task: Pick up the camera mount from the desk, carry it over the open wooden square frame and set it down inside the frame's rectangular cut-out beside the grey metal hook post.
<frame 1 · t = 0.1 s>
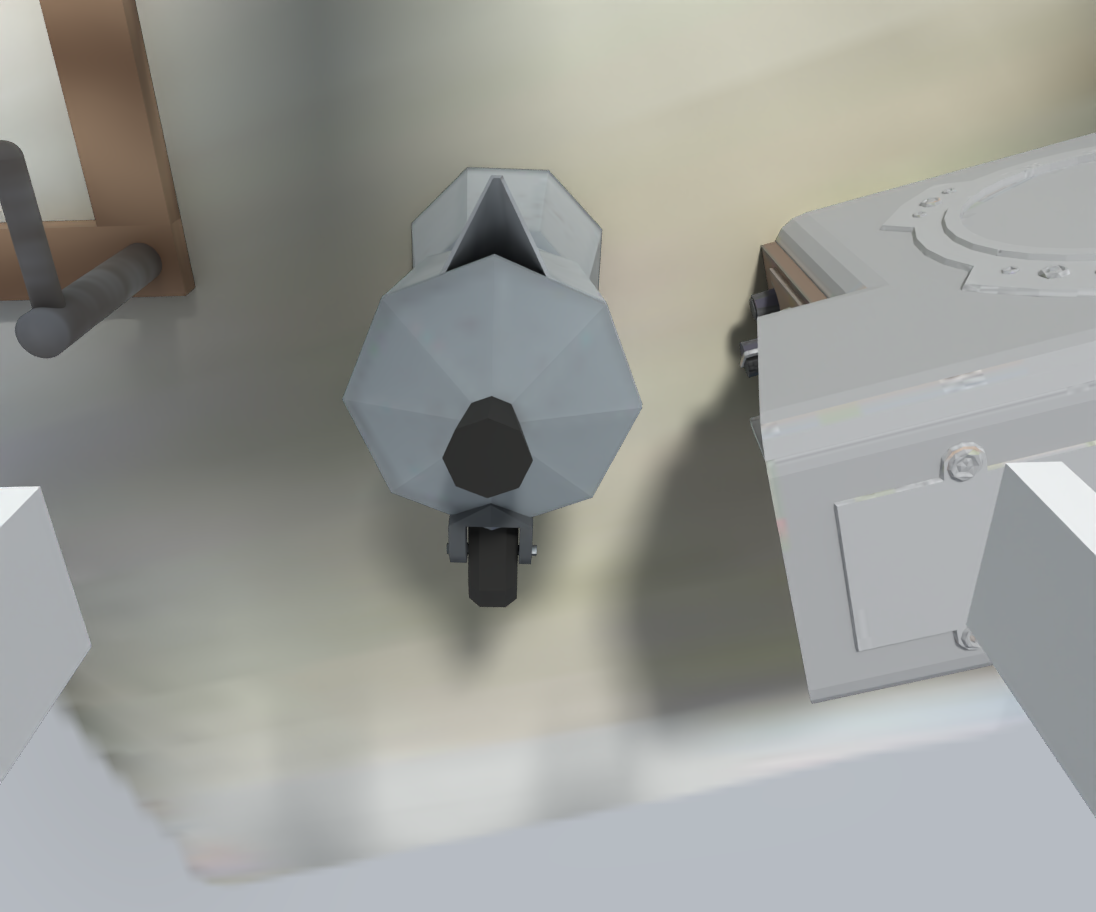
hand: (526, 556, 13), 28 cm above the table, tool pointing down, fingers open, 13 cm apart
portable television: (954, 297, 40), on the table
coffee maker: (505, 288, 40), on the table
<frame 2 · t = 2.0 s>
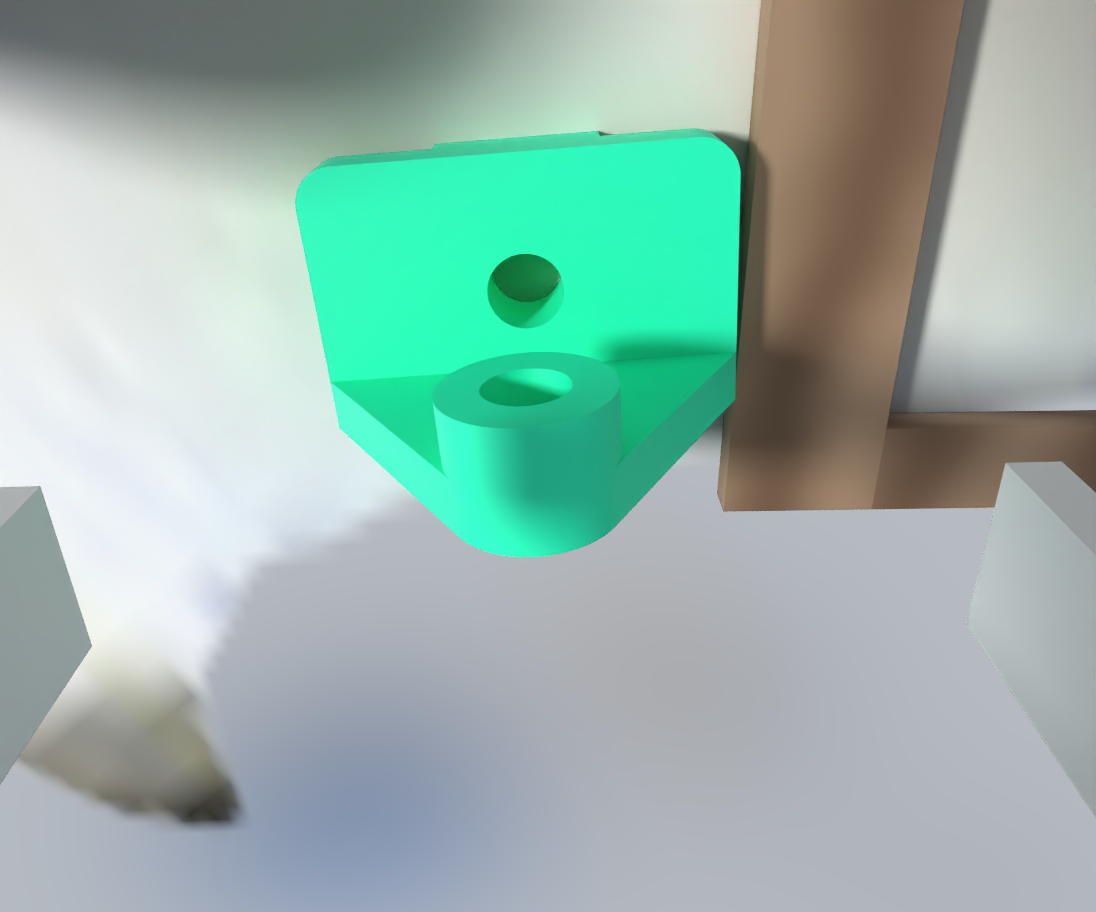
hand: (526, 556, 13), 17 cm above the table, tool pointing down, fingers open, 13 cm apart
camera mount: (526, 264, 28), on the table
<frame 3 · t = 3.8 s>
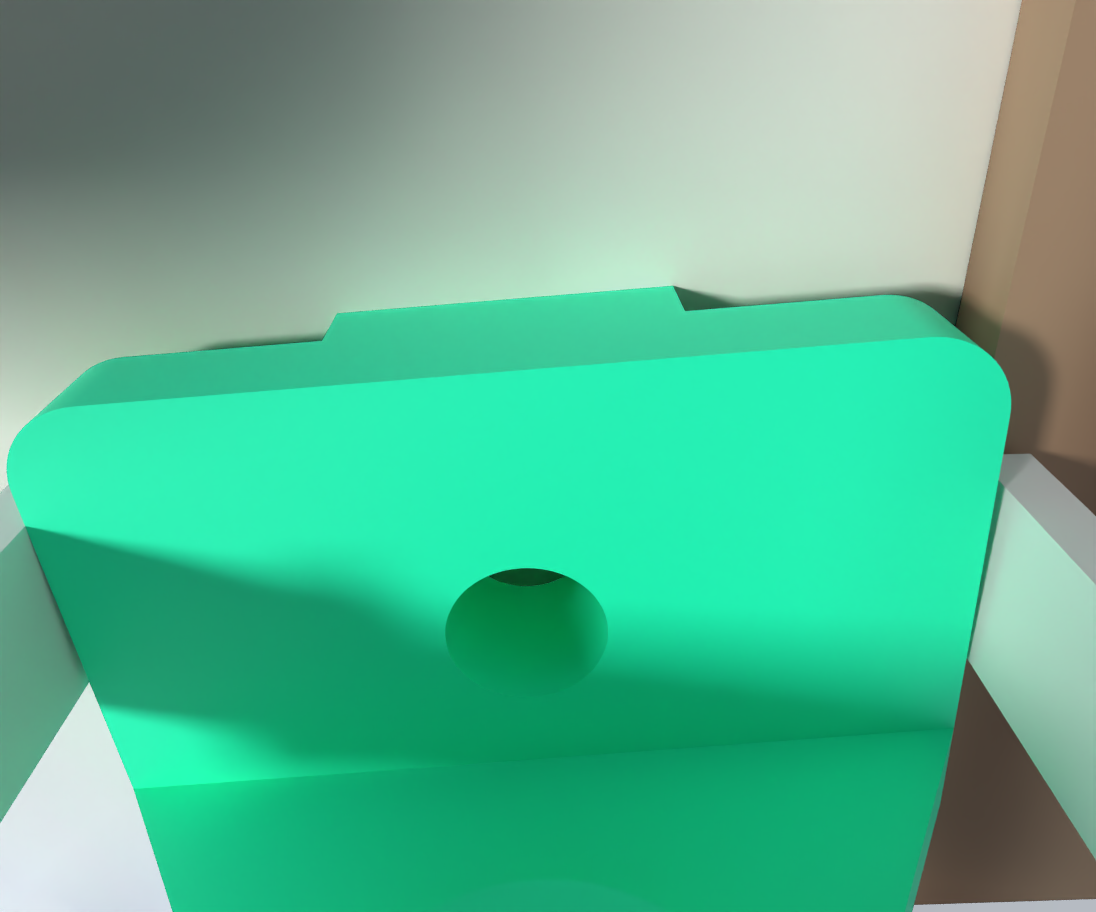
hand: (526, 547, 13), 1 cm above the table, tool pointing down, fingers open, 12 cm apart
camera mount: (526, 522, 15), on the table, touching gripper, open wooden square frame
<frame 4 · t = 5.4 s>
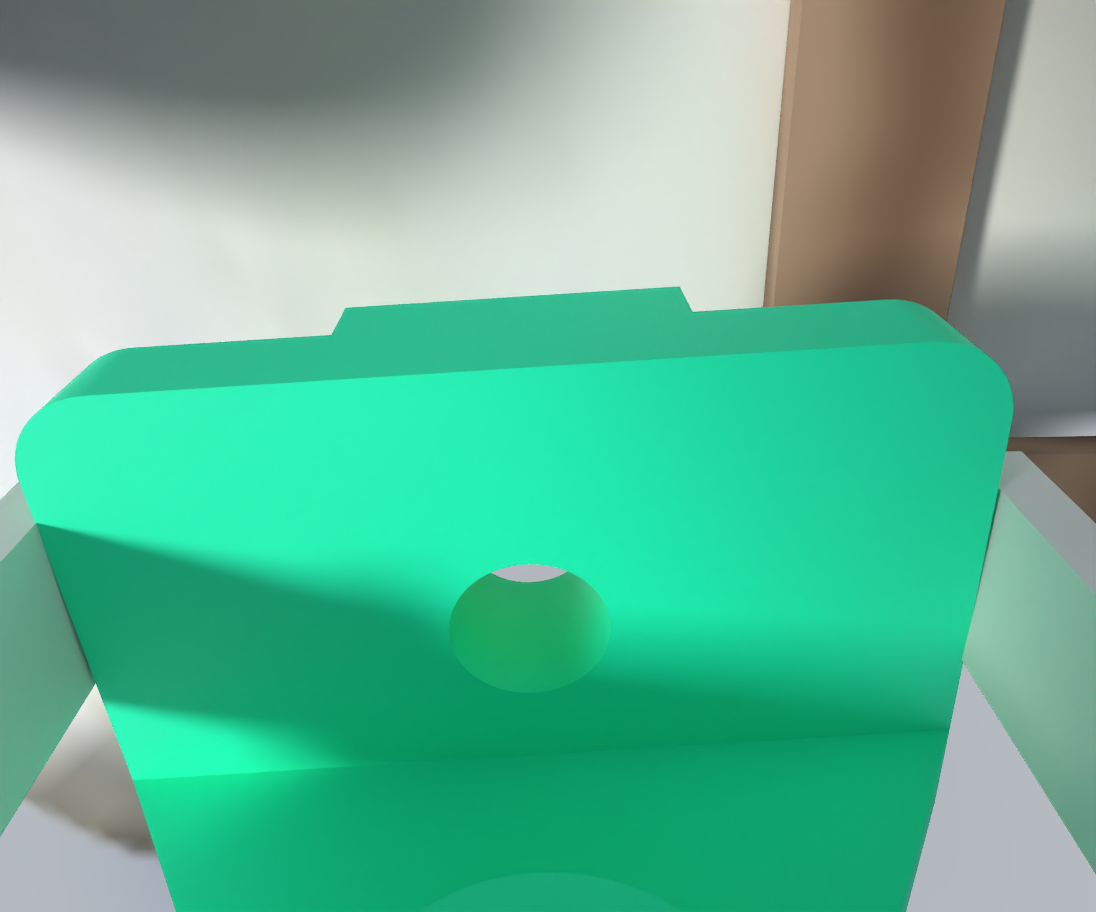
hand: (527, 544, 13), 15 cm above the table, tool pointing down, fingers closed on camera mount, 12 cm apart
camera mount: (528, 520, 15), point 13 cm above the table, touching gripper
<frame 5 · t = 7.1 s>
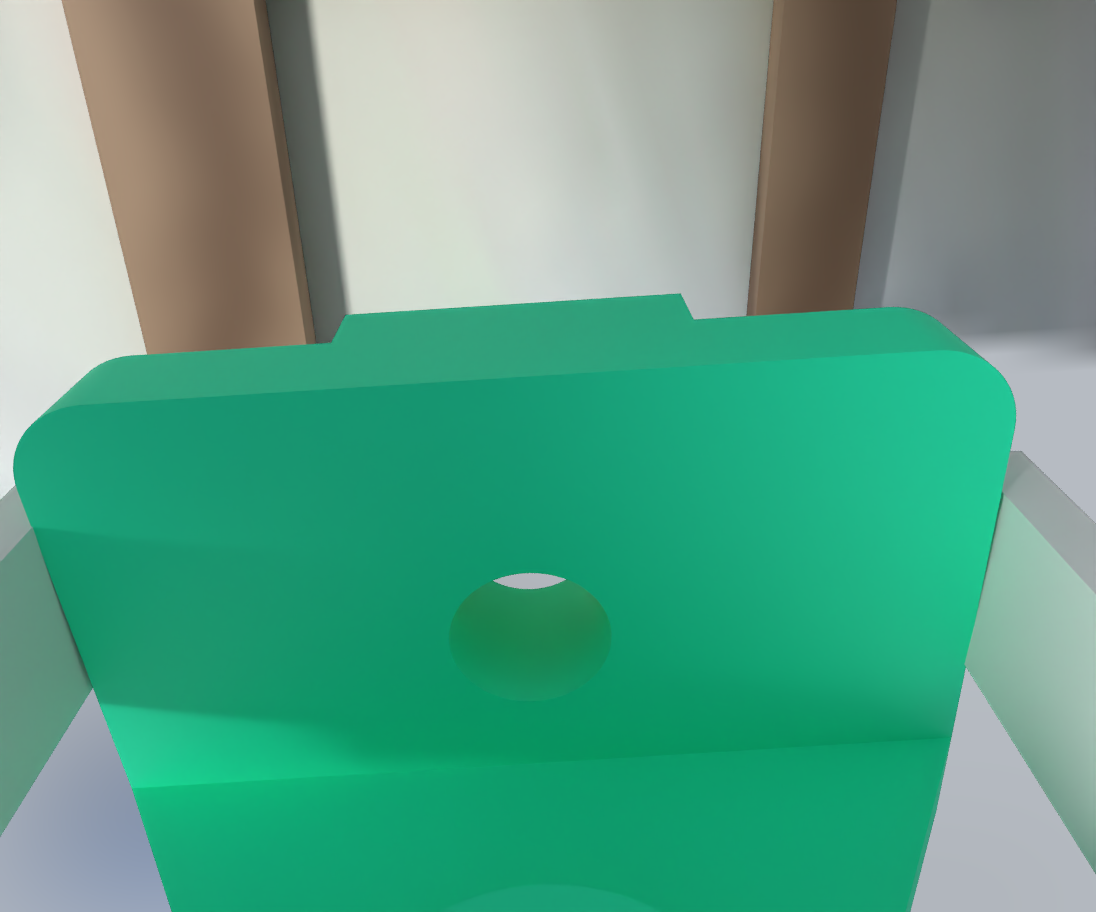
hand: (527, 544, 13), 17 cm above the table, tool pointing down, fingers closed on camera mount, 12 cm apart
open wooden square frame: (495, 239, 28), on the table
camera mount: (528, 526, 15), point 16 cm above the table, touching gripper
when the fingers open (4 cm above the table, at t = 9.6 s): camera mount drops 3 cm, resting in open wooden square frame.
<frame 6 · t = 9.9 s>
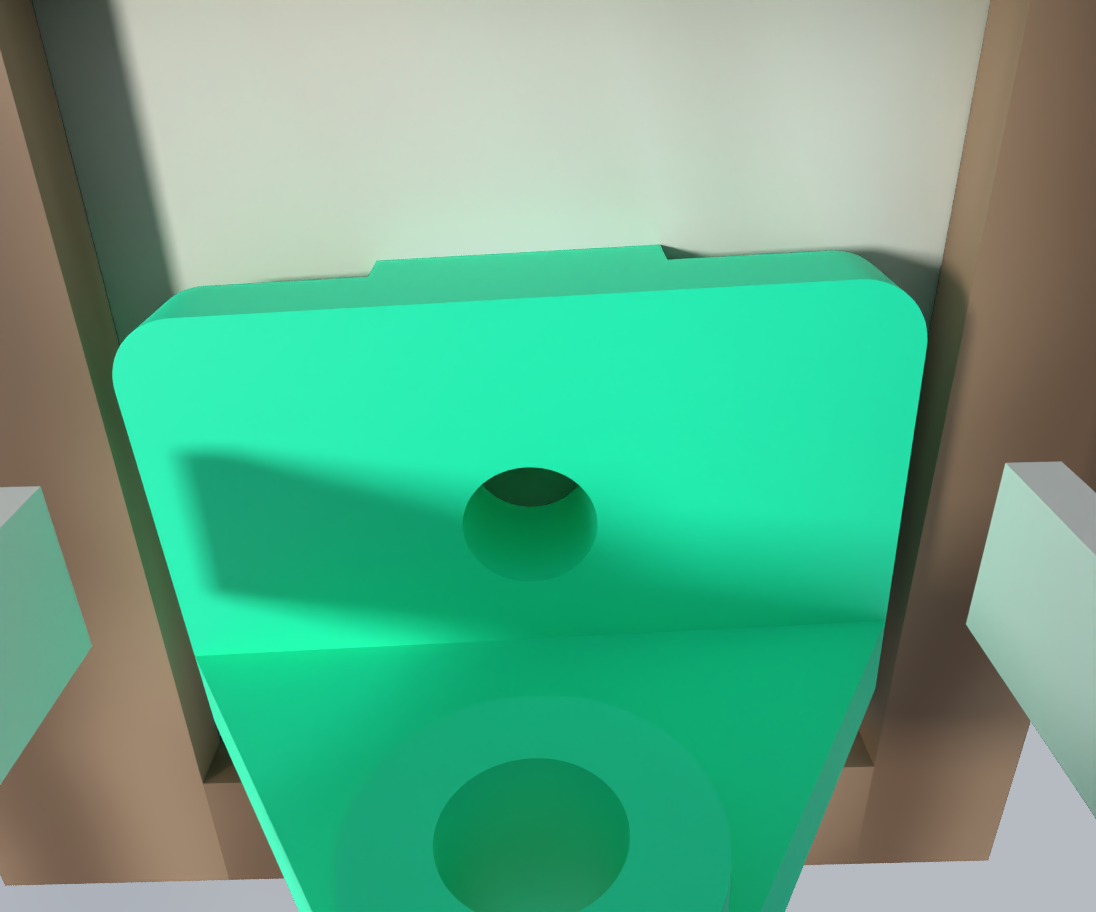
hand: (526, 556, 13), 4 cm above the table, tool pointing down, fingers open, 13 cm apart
open wooden square frame: (473, 427, 16), on the table
camera mount: (530, 446, 17), resting in open wooden square frame
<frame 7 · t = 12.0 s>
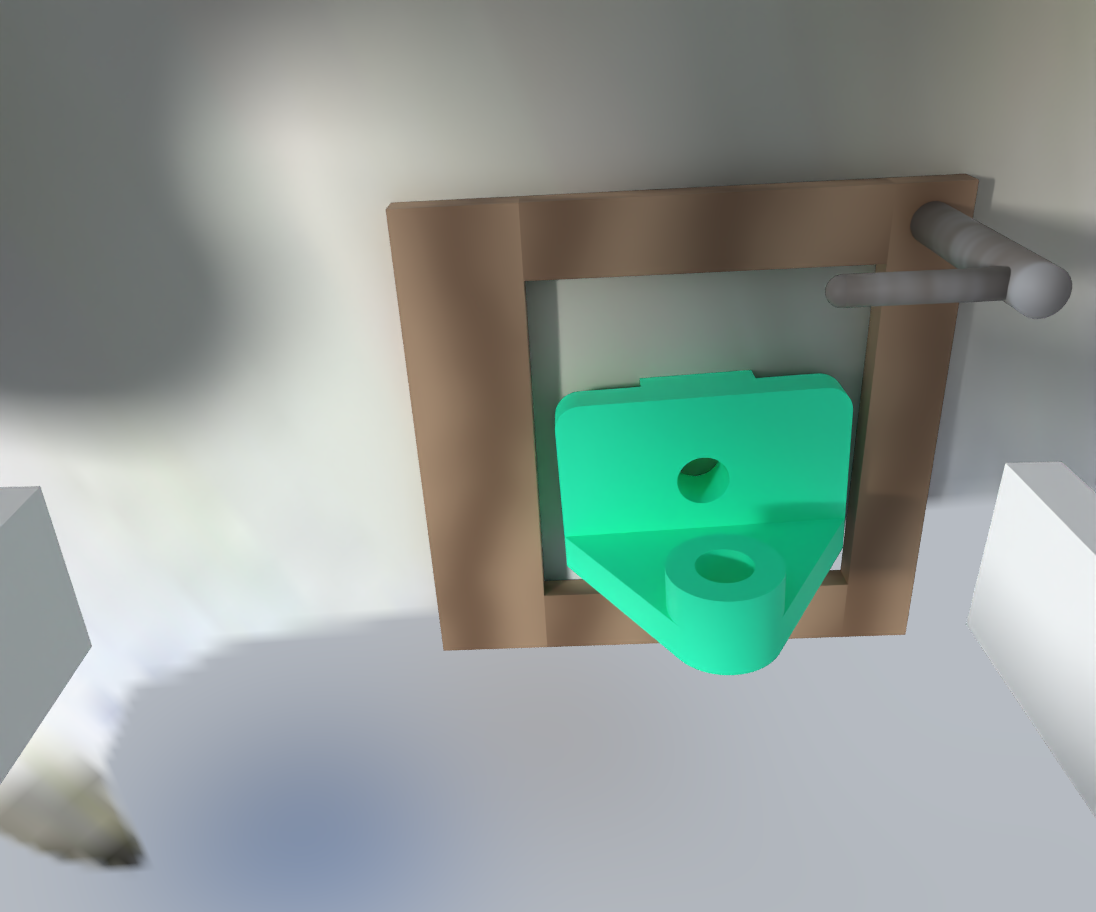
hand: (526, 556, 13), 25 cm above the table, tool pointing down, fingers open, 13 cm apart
open wooden square frame: (672, 434, 40), on the table
camera mount: (694, 450, 40), resting in open wooden square frame
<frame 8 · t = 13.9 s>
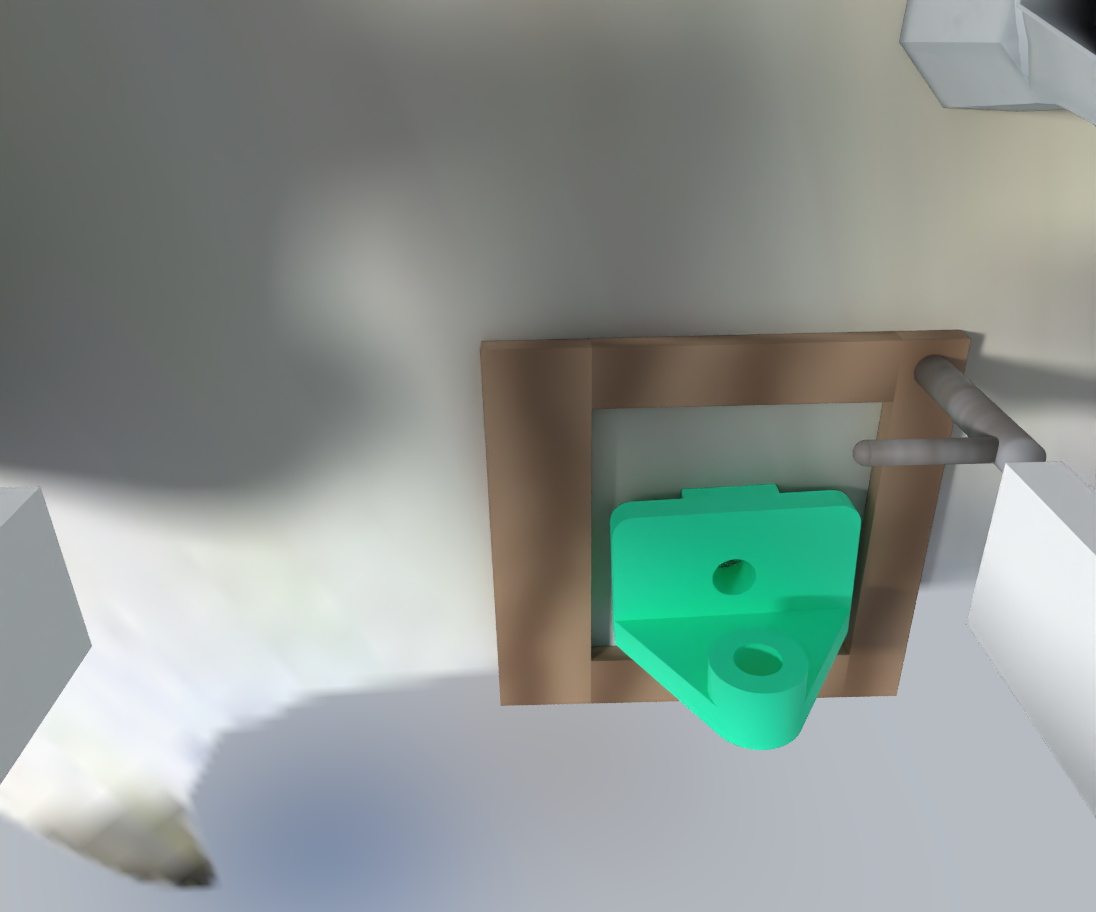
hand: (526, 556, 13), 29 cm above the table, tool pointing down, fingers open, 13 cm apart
open wooden square frame: (706, 529, 47), on the table
camera mount: (723, 546, 48), resting in open wooden square frame
coffee maker: (1036, 1, 36), on the table
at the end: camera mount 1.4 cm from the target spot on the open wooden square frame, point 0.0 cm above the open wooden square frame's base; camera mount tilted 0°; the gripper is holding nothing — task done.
